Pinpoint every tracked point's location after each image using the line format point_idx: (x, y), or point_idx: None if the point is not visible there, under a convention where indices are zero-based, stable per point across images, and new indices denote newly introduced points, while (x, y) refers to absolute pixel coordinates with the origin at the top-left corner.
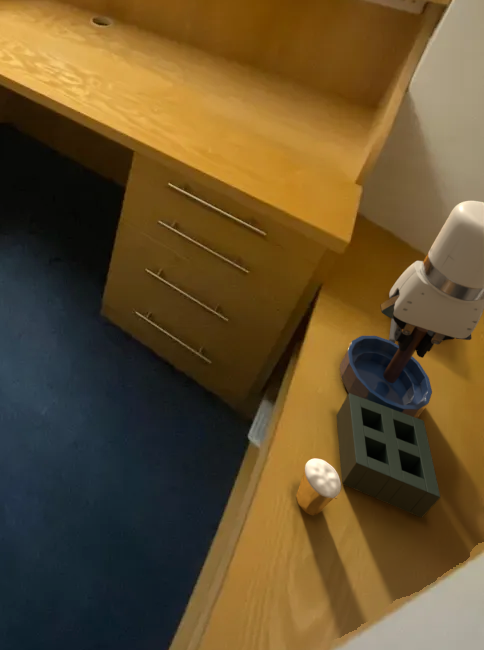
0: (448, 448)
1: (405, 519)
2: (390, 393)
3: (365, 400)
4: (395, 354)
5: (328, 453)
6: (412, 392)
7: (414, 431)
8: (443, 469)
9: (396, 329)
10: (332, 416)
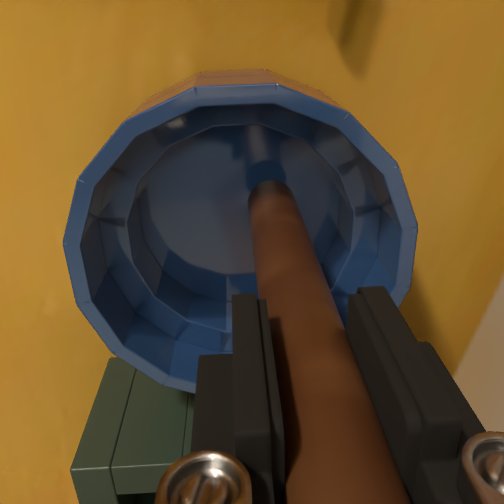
0: (420, 314)
1: None
2: None
3: (130, 470)
4: (256, 275)
5: None
6: (347, 235)
7: None
8: None
9: (196, 385)
10: (99, 364)
